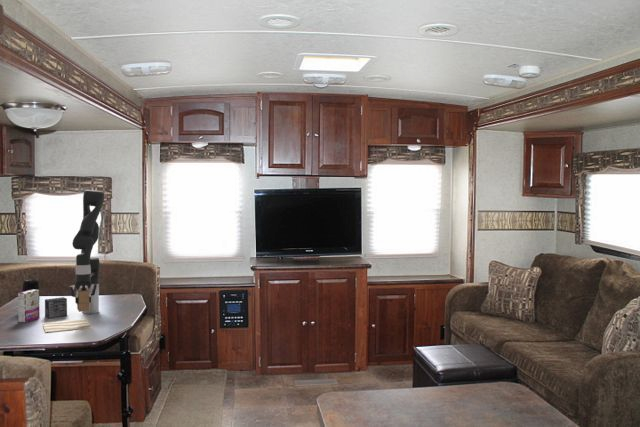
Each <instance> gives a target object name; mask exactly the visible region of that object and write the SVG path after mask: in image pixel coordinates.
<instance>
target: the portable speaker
mask: <svg viewBox="0 0 640 427" xmlns="http://www.w3.org/2000/svg"><path fill="white" fill-rule="evenodd" d="M33 289H34V290H39V291H40V283H39V278H24V279H23V284H22V292H25V291H29V290H33Z"/></svg>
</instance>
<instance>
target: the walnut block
mask: <svg viewBox="0 0 640 427" xmlns="http://www.w3.org/2000/svg"><path fill="white" fill-rule="evenodd" d="M78 298H79V304H78V305H77V304H76V308H77V311H78V312H79V313H80V312H81V313H82V311H89V290H81V291H79V296H78Z"/></svg>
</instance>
